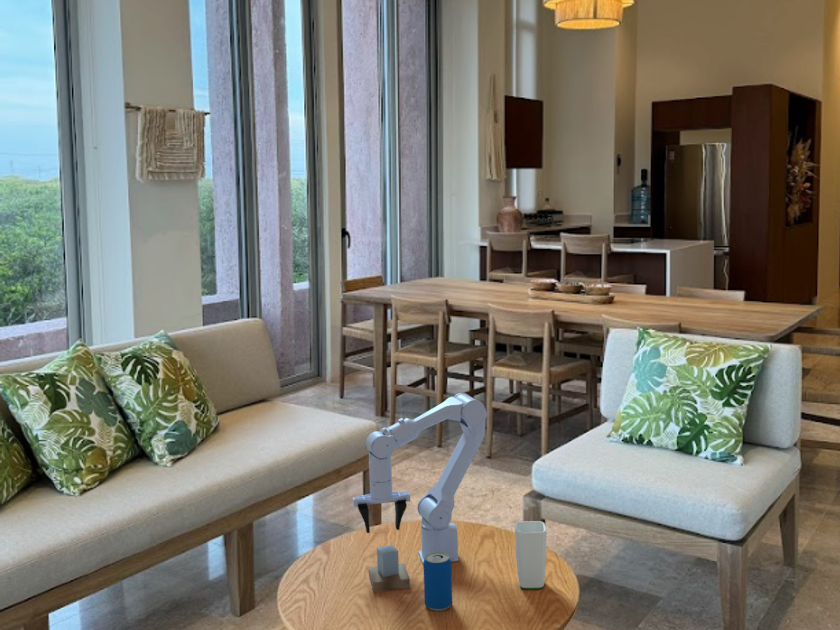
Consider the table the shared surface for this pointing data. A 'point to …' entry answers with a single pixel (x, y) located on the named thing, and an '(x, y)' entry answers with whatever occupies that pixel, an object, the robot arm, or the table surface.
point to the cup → (530, 553)
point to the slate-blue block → (387, 560)
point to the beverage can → (437, 581)
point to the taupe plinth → (389, 580)
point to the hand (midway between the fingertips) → (382, 530)
